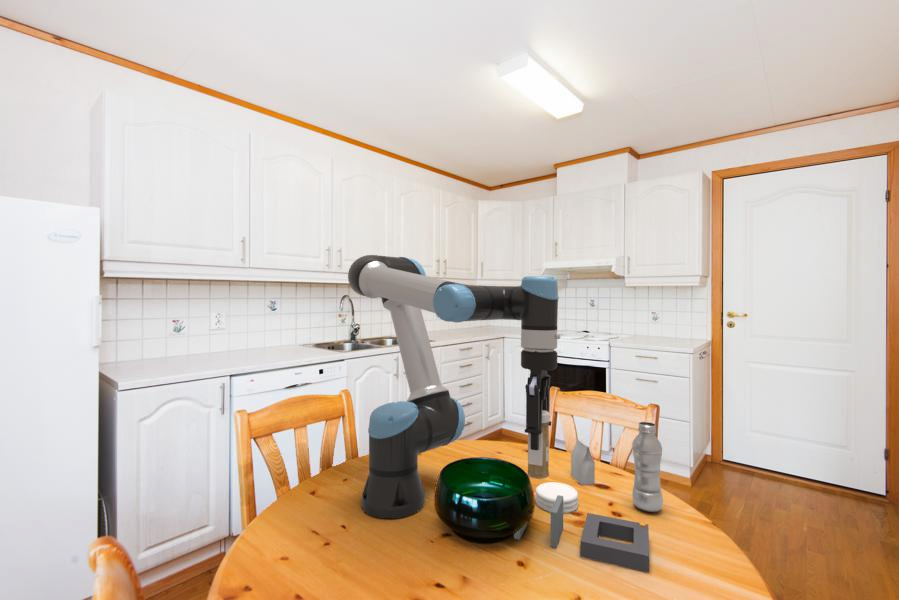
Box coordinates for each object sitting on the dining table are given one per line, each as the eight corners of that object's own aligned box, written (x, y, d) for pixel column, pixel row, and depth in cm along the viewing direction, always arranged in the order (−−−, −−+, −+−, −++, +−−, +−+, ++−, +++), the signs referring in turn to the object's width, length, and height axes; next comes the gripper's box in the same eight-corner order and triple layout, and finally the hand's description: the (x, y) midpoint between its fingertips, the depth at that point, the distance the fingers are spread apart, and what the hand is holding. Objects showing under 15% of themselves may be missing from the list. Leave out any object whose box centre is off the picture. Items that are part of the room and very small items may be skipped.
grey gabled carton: (581, 485, 114) (581, 447, 114) (570, 475, 121) (571, 439, 121) (594, 484, 115) (594, 447, 115) (583, 474, 121) (583, 439, 121)
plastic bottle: (650, 518, 97) (650, 429, 97) (625, 505, 103) (625, 422, 103) (669, 512, 100) (669, 425, 100) (644, 500, 106) (644, 418, 106)
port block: (580, 556, 82) (580, 539, 82) (587, 526, 93) (587, 510, 93) (649, 572, 78) (649, 554, 78) (648, 539, 89) (648, 522, 89)
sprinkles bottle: (553, 476, 90) (554, 412, 90) (537, 481, 88) (538, 415, 88) (537, 469, 94) (538, 407, 94) (522, 473, 92) (522, 410, 91)
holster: (513, 538, 89) (513, 504, 89) (523, 520, 96) (523, 488, 96) (556, 548, 85) (556, 513, 85) (563, 528, 93) (563, 496, 93)
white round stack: (559, 492, 111) (559, 478, 111) (587, 509, 102) (587, 494, 102) (527, 500, 106) (527, 485, 106) (553, 518, 97) (553, 503, 97)
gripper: (549, 355, 81) (547, 479, 81) (564, 346, 97) (562, 449, 97) (510, 353, 84) (509, 472, 84) (531, 344, 100) (530, 444, 100)
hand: (538, 459), depth 91 cm, fingers closed on sprinkles bottle, 4 cm apart
